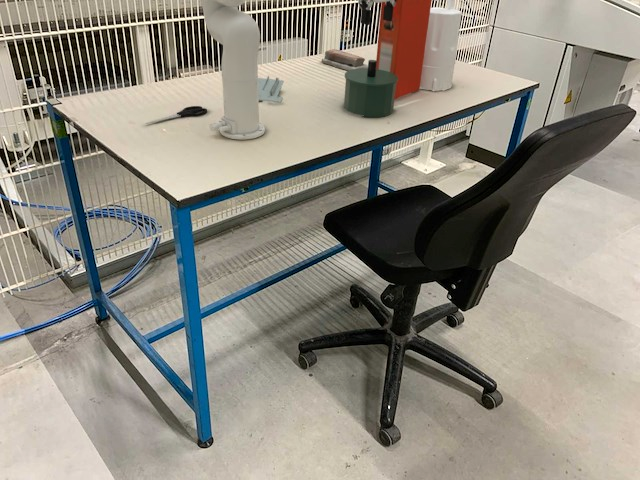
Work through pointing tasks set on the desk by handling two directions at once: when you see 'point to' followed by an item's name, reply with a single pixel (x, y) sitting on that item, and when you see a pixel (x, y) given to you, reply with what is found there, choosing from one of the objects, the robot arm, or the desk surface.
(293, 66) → the desk surface
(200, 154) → the desk surface
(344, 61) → the packaged product
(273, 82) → the metal bracket
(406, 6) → the file binder
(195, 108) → the scissors
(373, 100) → the pot
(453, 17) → the white cylindrical canister
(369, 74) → the lid
